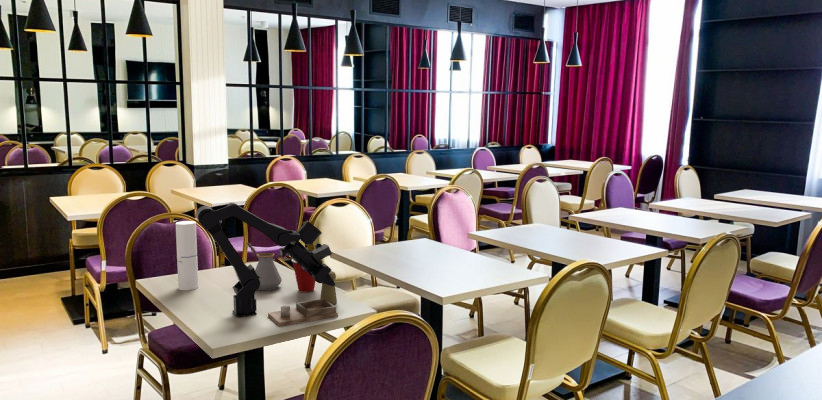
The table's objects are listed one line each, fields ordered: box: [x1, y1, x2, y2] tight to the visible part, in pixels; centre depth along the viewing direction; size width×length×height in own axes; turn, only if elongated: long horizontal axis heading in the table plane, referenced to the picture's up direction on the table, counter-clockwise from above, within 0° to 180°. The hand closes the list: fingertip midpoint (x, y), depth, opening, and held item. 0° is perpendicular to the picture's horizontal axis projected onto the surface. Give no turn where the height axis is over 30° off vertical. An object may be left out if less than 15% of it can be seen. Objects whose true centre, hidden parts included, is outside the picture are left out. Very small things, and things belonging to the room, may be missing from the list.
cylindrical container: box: [175, 220, 199, 291], centre depth 236 cm, size 7×7×25 cm
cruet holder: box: [267, 298, 339, 327], centre depth 206 cm, size 20×11×4 cm, turn 120°
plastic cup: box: [291, 258, 317, 293], centre depth 236 cm, size 11×11×12 cm
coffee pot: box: [244, 242, 282, 291], centre depth 242 cm, size 21×12×15 cm, turn 40°
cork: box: [319, 270, 338, 305], centre depth 220 cm, size 6×6×11 cm
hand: (332, 283), depth 220 cm, fingers closed on cork, 5 cm apart
